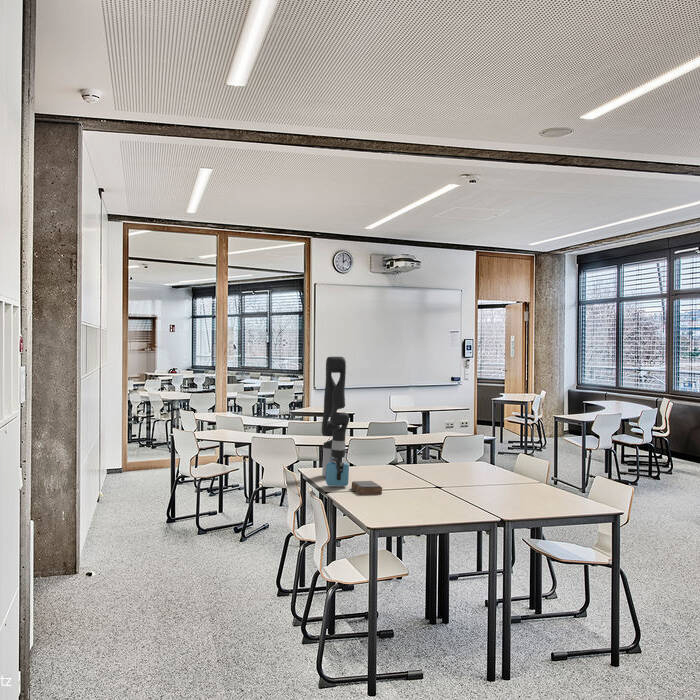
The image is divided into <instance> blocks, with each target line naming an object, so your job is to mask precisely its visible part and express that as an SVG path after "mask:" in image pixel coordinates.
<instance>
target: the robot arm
mask: <svg viewBox="0 0 700 700" xmlns="http://www.w3.org/2000/svg"><path fill="white" fill-rule="evenodd" d="M346 364H347V362H346V358H345V357H344V356H328V357H326V361H325V383H324V385H325V387H324V395H323V414H322V422H321V423H322V424H321V434H322V436H323V437H332V438H331V439H329V440H328V441H325V442H323V446H322V448H323V449H322V451H323V452H322V468H321V469H322V472H321V473H322V474H321V476H322V477H323V478H326V467H327V464H328V463H335V464H336V469H337V480H341V473H343V466H344V463H345V462H343V458H345V457H346V432H347V429H348V426H349V422H350V415H349V413H348V412H345V411H344V412H338V410H342V409H344V408H345V407H346V397H345V395H346V394H345V391H346V390H345V389H346V375H347V374H346V373H347V372H346V370H347V369H346V368H347V365H346ZM332 374H339V379H338V381H337V383H336V382H335V381H334V379H333V375H332Z"/></svg>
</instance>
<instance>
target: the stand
mask: <svg viewBox="0 0 700 700" xmlns="http://www.w3.org/2000/svg"><path fill="white" fill-rule="evenodd" d="M351 489H352V490H353V491H354V492H356V493H357V494H358V495H361V496H363V495H364V496H366V495H368V496H369V495H382V493H383V487H382V485H379V484H378V483H377V482H374V481H373V480H355V481H351Z"/></svg>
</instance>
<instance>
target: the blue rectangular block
mask: <svg viewBox="0 0 700 700" xmlns="http://www.w3.org/2000/svg"><path fill="white" fill-rule="evenodd" d="M343 463H344V466H343V473H341V480H337V469H336V464H335V463H328V464H327V467H326V477H325V483H326V485H327V486H328V487H347V486H348V485H349V478H350V476H349V474H350V473H349V471H350V465H349V464H348V463H347V462H343Z"/></svg>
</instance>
